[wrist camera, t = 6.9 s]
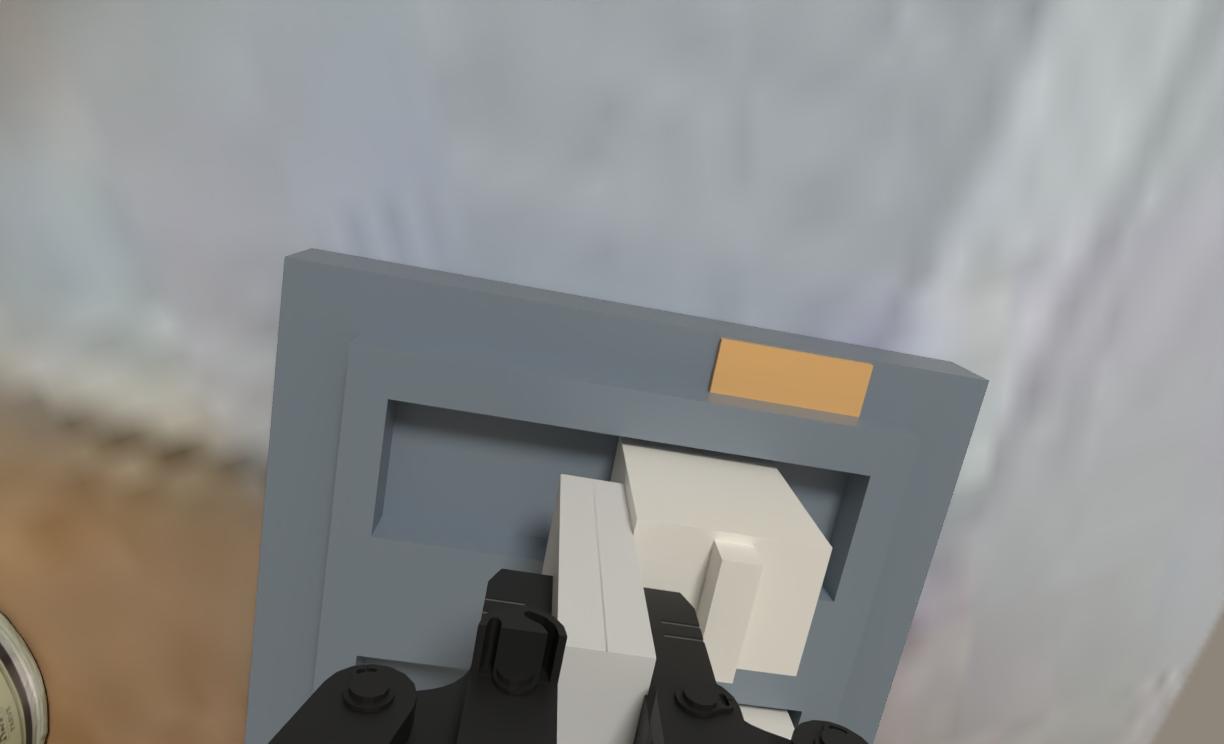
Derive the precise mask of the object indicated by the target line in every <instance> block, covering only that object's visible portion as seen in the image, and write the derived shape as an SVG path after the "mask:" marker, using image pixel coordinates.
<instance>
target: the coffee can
mask: <svg viewBox="0 0 1224 744" xmlns="http://www.w3.org/2000/svg"><path fill="white" fill-rule="evenodd" d="M47 724H48V716H47V698H46V693H45V688H44V684H43V680H42V677H41V674H40V671H39V669H38V666H37V664H36V662H35V660H34V658H33V656H32V654H31V652H30V650H29V648H28V646H27V645H26V643H25V642H24V640H23V639H22V638H21V636H20V635H19V634H18V632H17V631H16V629H15V628H14V627H13V625H12V624H11V622H10V621H9V619H8V618H7V617H6V616H5V615H4V614H3V613H1V612H0V744H44V743H45V739H46V735H47V733H48V727H47Z"/></svg>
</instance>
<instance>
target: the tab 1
mask: <svg viewBox="0 0 1224 744" xmlns="http://www.w3.org/2000/svg"><path fill="white" fill-rule="evenodd" d="M610 482H615V483H621V484H624V487H625V492H626V498H627V503H628V509H629V514H630V519H631V525H632V530H633V536H634V540H635V545H636V551H637V556H638V561H639V567H640V572H641V578H642V583H643V587H645V588H652V589H659V590H666V591H673V592H679V593H681V594H682V595H683V596H684V597H685V599H686V600H687V601H688V602H689V603H690V604H691V605H692V606H693V607H694V608H695V611H696V615H697V618H698V622H699V628H700V629H701V632H702V635H703V642H705V646H706V649H707V652H708V656H709V659H710V663H711V666H712V670H713V673H714V676H715V680H716V682H724V683H732V684H733V680H734V676H735V672H736V669H743V670H751V671H758V672H766V673H774V674H781V675H789V676H796V675H797V671H798V668H799V664H800V661H801V657H802V654H803V650H804V647H805V643H806V640H807V636H808V633H809V629H810V626H811V622H812V619H813V615H814V612H815V608H816V604H817V601H818V597H819V594H820V590H821V587H822V583H823V580H824V576H825V573H826V569H827V566H828V562H829V559H830V555H831V552H832V547H831V545H830V544H829V542H828V541H827V539H826V538H825V537H824V535H823V534H822V532H821V531H820V529H819V528H818V527H817V525H816V524H815V522H814V521H813V519H812V518H811V517H810V515H809V514H808V512H807V511H806V509H805V508H804V507H803V505H802V504H801V502H800V501H799V499H798V498H797V497H796V495H795V494H794V492H793V491H792V489H791V488H790V487H789V485H788V484H787V482H786V481H785V479H784V478H783V477H782V475H781V474H780V472H779V471H778V469H777V468H776V467H775V465H774V464H773V462H772V461H771V460H767V459H761V458H754V457H748V456H742V455H736V454H729V453H723V452H717V451H711V450H704V449H698V448H692V447H685V446H679V445H673V444H667V443H660V442H654V441H648V440H642V439H635V438H629V437H623V436H619V440H618V445H617V450H616V455H615V460H614V465H613V470H612V475H611V480H610Z"/></svg>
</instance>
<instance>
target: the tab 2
mask: <svg viewBox="0 0 1224 744" xmlns="http://www.w3.org/2000/svg"><path fill="white" fill-rule="evenodd" d="M738 705H739V707H740V709H741V712H742V715H743V718H744V720H745V721H746V722H748V723H749V724H751V725H753V726H755V727H758V728H760V729H762V730H765V731H767V732H770V733H773V734H776V735H778V736H781V737H784V738H787V739H789V740H791V738H792V734H793V731H794V726H793V724H792V721H791V719H790V716H789V714H788V711H787V709H779V708H771V707H763V706H755V705H747V704H739V703H738Z"/></svg>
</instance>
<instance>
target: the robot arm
mask: <svg viewBox="0 0 1224 744" xmlns="http://www.w3.org/2000/svg"><path fill="white" fill-rule="evenodd" d="M268 744H869V743H868V742H866V741H865V740H864V739H863V738H862V737H861V736H859V735H858V734H856V733H854V732H853V731H851V730H849V729H848V728H846V727H844V726H841V725H838V724H836V723H832V722H829V721H820V720H811V721H806V722H802V723H800V724H799V725H798V726H797V727H796V728H795V729H794V731H793V734H792V738H791V740H789V739H787V738H784V737H781V736H778V735H776V734H773V733H770V732H767V731H765V730H762V729H760V728H758V727H755V726H753V725H751V724H749V723H748V722H746V721H745V720H744V718H743V715H742V712H741V709H740V707H739V705H738V703H737V701H736V700H735V698H734V697H733V696H732V695H731V694H730V693H729V692H728V691H727V690H725V689H724V688H723V687H722V686H720V685H718V684H717V683H716V680H715V676H714V673H713V670H712V666H711V663H710V659H709V656H708V652H707V649H706V646H705V642H703V635H702V632H701V629H700V628H699V622H698V618H697V615H696V611H695V608H694V607H693V606H692V605H691V604H690V603H689V602H688V601H687V600H686V599H685V597H684V596H683V595H682V594H681V593H679V592H673V591H666V590H659V589H652V588H645V587H643V583H642V578H641V572H640V567H639V561H638V556H637V551H636V545H635V540H634V536H633V530H632V525H631V519H630V514H629V509H628V503H627V498H626V492H625V487H624V484H621V483H615V482H609V481H603V480H596V479H590V478H584V477H578V476H572V475H565V474H561V475H560V480H559V486H558V491H557V496H556V501H555V507H554V512H553V517H552V522H551V528H550V533H549V538H548V543H547V548H546V554H545V559H544V564H543V569H542V574H536V573H530V572H523V571H516V570H509V569H501V570H500V571H498V572H497V573H496V574H495V575H494V576H493V577H492V578H491V579H490V580H489V581H488V585H487V590H486V596H485V601H484V606H483V611H482V616H481V621H480V622H479V624H478V629H477V635H476V641H475V646H474V652H473V658H472V664H471V667H470V669H469V670H468V672H467V673H466V674H465V675H464V676H463V677H462V678H460V679H458V680H457V681H455V682H454V683H451V684H449V685H446V686H443V687H439V688H434V689H428V690H419V691H416V688H415V684H414V683H413V682H412V681H411V680H410V678H409V677H408V676H407V675H406V674H405V673H402V672H400V671H398V670H396V669H394V668H392V667H388V666H382V665H376V664H367V665H355V666H351V667H349V668H346V669H343V670H340V671H337V672H336V673H335V674H333V675H332V676H330V677H329V678H328V679H326V680H325V681H324V682H323V683H322V684H321V685H320V686H319V688H318V689H317V690H316V691H315V692H314V693H313V694H312V695H311V696H310V698H309V699H308V700H307V701H306V702H305V703H304V704H303V705H302V706H301V707H300V709H299V710H298V711H297V712H296V713H295V714H294V715H293V716H292V717H291V718H290V720H289V721H288V722H287V723H286V724H285V725H284V726H283V727H282V728H281V730H280V731H279V732H278V733H277V734H276V735H275V736H274V737H273V738H272V739H271V741H270V742H269V743H268Z"/></svg>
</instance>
